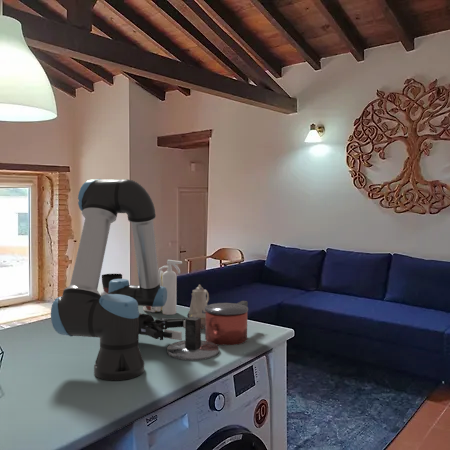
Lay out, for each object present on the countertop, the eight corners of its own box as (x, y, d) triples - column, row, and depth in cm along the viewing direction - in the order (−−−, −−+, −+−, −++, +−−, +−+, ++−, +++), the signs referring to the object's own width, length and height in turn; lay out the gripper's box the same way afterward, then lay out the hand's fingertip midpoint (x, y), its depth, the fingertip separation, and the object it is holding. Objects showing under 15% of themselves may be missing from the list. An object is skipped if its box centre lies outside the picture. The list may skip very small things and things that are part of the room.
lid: (203, 364, 155) (204, 328, 154) (157, 356, 162) (157, 321, 162) (227, 348, 171) (227, 315, 170) (183, 341, 179) (183, 310, 178)
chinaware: (206, 336, 190) (210, 296, 189) (170, 327, 197) (174, 288, 196) (234, 320, 216) (238, 284, 214) (202, 312, 223) (205, 277, 221)
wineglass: (100, 319, 208) (100, 274, 207) (120, 317, 212) (120, 273, 210) (103, 324, 201) (103, 277, 200) (124, 322, 204) (124, 275, 203)
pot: (237, 347, 171) (237, 315, 170) (196, 341, 178) (197, 309, 177) (263, 329, 195) (263, 300, 194) (226, 324, 202) (226, 296, 201)
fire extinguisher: (155, 310, 225) (156, 258, 223) (180, 311, 225) (182, 259, 223) (153, 314, 218) (154, 260, 216) (179, 315, 218) (181, 261, 216)
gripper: (158, 325, 188) (206, 332, 179) (119, 343, 165) (172, 351, 157) (158, 306, 187) (206, 312, 179) (119, 321, 165) (172, 329, 156)
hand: (190, 331), depth 168 cm, fingers open, 13 cm apart
